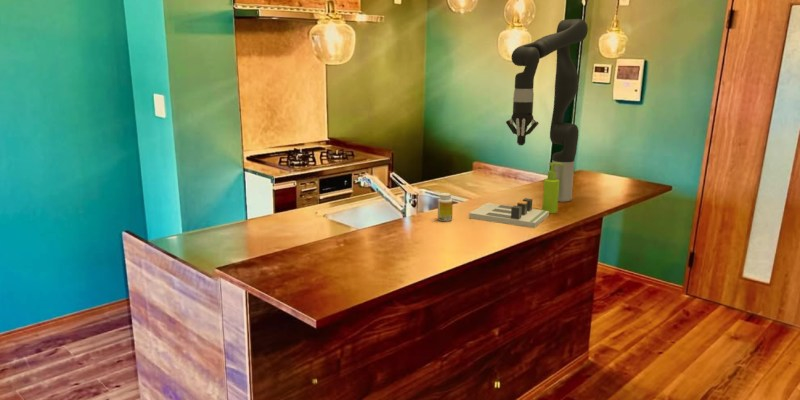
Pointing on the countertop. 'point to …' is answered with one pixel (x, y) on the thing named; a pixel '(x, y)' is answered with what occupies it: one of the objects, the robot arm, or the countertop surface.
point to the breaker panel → (508, 215)
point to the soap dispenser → (551, 190)
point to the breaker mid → (523, 206)
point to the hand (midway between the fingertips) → (520, 145)
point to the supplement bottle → (445, 207)
